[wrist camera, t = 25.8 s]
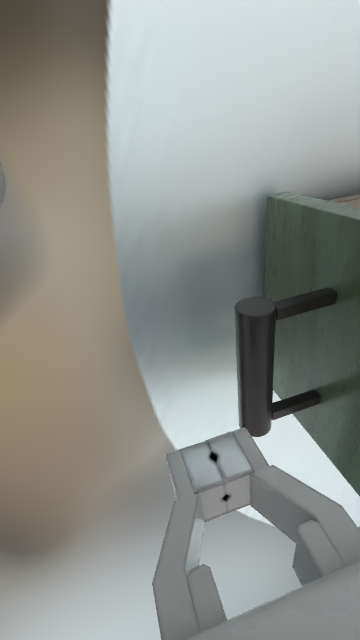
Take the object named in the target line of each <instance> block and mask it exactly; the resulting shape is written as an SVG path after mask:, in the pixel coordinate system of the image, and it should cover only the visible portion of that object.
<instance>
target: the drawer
mask: <svg viewBox="0 0 360 640" xmlns="http://www.w3.org/2000/svg"><path fill="white" fill-rule="evenodd" d="M235 330H236V357H237V383H238V410H239V426H240V428H243V427H245V428H246V429H247V430H248V432H249V433H250V435H251V436H253V437H261V436H264V435H266V434H267V433H268V432H269V431H270V429H271V419H272V420H275V419H278V418H281V417H284V416H286V415H289V414H293V415H294V416H295V417H296V418H297V420H298V421H299V422H300V423H301V425H302V426H303V427H304V428H305V430H306V431H307V432H308V433H309V435H310V436H311V437H312V438H313V439H314V441H315V442H316V443H317V444H318V446H319V447H320V448H321V449H322V451H323V452H324V453H325V454H326V455H327V457H328V458H329V459H330V460H331V462H332V463H333V464H334V465H335V467H336V468H337V469H338V470H339V471H340V473H341V474H342V475H343V476H344V478H345V479H346V480H347V481H348V483H349V484H350V485H351V486H352V487H353V489H354V490H355V491H356V492H357V494H358V495H359V496H360V194H356V195H352V196H347V197H342V198H337V199H333V200H328V201H327V200H322V199H318V198H313V197H308V196H304V195H299V194H295V193H290V192H282V193H277V194H272V195H268V196H267V197H266V245H265V294H264V298H262V297H250V298H245V299H242V300H240V301H239V302H237V304H236V305H235ZM273 390H274V391H275V393H276V394H277V395H278V396H279V398H280V399H281V400H280V401H277V402H274V403H272V396H273Z"/></svg>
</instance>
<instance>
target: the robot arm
mask: <svg viewBox="0 0 360 640" xmlns="http://www.w3.org/2000/svg"><path fill="white" fill-rule="evenodd" d="M166 459H167V463H168V467H169V471H170V475H171V479H172V483H173V487H174V491H175V495H176V498H177V501H175V502H174V504H173V508H172V511H171V515H170V519H169V523H168V526H167V530H166V534H165V538H164V541H163V545H162V549H161V552H160V556H159V560H158V564H157V567H156V571H155V575H154V579H153V582H152V585H153V591H154V597H155V603H156V610H157V616H158V622H159V628H160V634H161V640H360V530H359V529H358V527H357V526H356V524H355V523H354V522H353V520H352V519H351V518H350V516H349V515H348V514H347V512H346V511H345V509H344V508H343V507H342V506H341V505H339V504H338V503H336V502H334V501H333V500H331V499H329V498H328V497H326V496H324V495H323V494H321V493H319V492H318V491H316V490H314V489H313V488H311V487H309V486H308V485H306V484H304V483H303V482H301V481H299V480H298V479H296V478H294V477H293V476H291V475H289V474H288V473H286V472H284V471H282V470H281V469H279V468H277V467H276V466H274V465H272V466H269V465H268V463H267V461H266V460H265V458H264V456H263V455H262V453H261V451H260V450H259V448H258V446H257V445H256V443H255V441H254V440H253V438H252V436H251V435H250V433H249V432H248V430H247V429H246V428H245V427H243V428H241V429H238V430H235V431H232V432H228V433H225V434H222V435H220V436H217V437H214V438H211V439H208V440H206V441H204V442H201V443H198V444H195V445H192V446H188V447H185V448H182V449H180V450H176V451H173V452H170V453H167V454H166ZM248 505H251V506H252V507H253V508H254V509H255V510H256V511H258V512H259V513H260V514H261V515H262V516H264V517H265V518H266V519H267V520H269V521H270V522H271V523H272V524H273V525H275V526H276V527H277V528H278V529H279V530H281V531H282V532H283V533H284V534H286V535H287V536H288V537H289V538H290V539H292V540H293V541H294V542H295V543H296V547H295V554H294V560H293V566H292V567H293V569H294V571H295V573H296V575H297V577H298V579H299V581H300V583H301V585H302V586H301V587H298V588H296V589H294V590H292V591H290V592H287V593H285V594H283V595H281V596H279V597H276V598H274V599H272V600H270V601H268V602H265V603H263V604H261V605H259V606H257V607H254V608H252V609H250V610H248V611H246V612H243V613H241V614H239V615H237V616H235V617H232V618H230V619H228V620H227V618H226V616H225V612H224V609H223V607H222V603H221V600H220V597H219V594H218V590H217V587H216V584H215V581H214V578H213V575H212V572H211V569H210V567H208V566H206V565H204V564H203V565H201V566H199V562H200V555H201V547H202V541H203V535H204V528H205V522H207V521H209V520H212V519H214V518H216V517H219V516H221V515H224V514H226V513H228V512H231V511H234V510H237V509H240V508H243V507H245V506H248Z"/></svg>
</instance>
